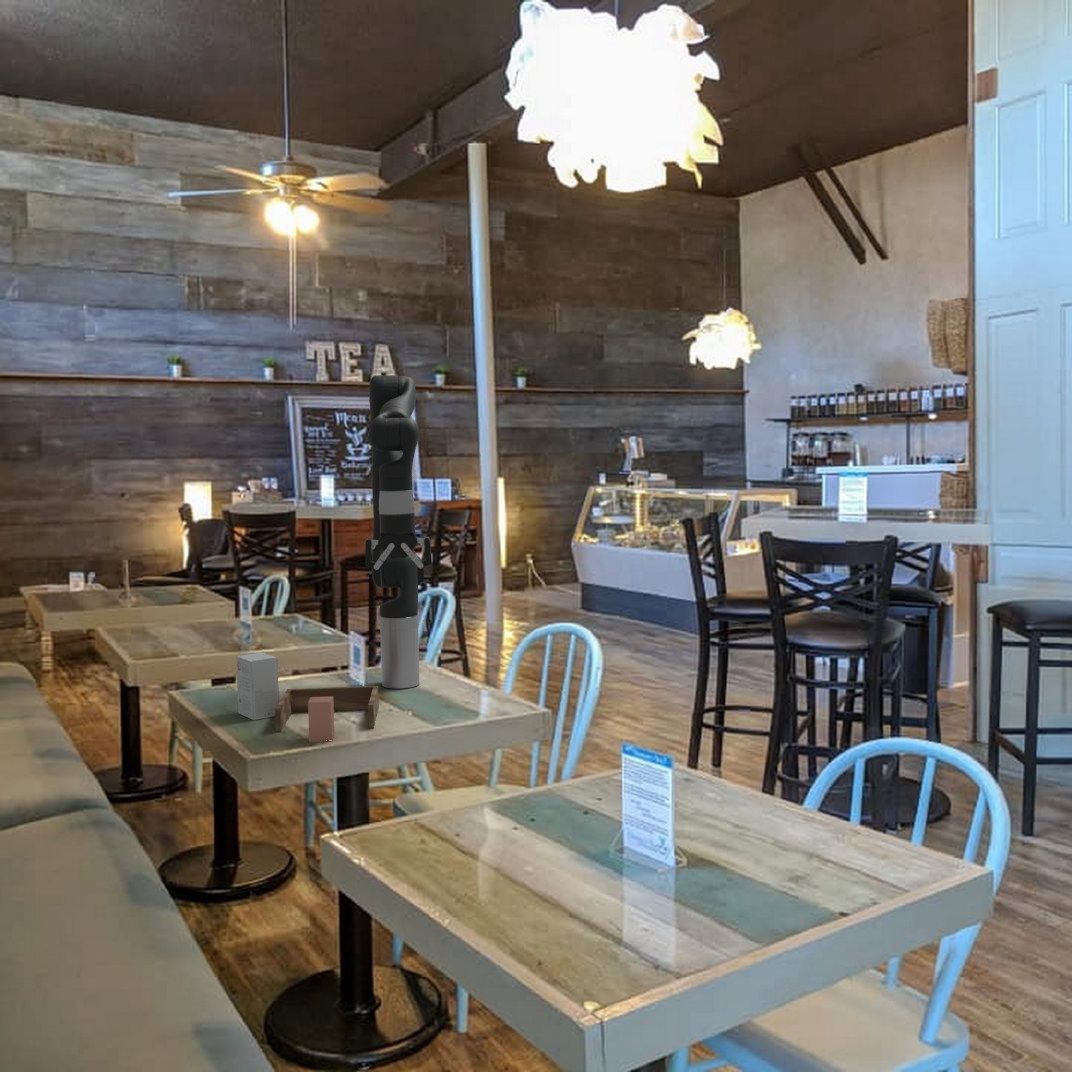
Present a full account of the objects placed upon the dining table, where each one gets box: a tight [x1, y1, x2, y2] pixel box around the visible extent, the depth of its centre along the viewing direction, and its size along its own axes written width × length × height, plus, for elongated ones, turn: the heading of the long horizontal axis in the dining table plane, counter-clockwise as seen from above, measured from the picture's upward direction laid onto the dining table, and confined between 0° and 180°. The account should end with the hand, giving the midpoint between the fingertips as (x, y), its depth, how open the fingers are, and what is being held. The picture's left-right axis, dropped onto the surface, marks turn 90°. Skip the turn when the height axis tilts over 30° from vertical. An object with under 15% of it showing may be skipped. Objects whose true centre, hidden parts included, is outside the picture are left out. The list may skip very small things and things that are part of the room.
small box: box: [235, 652, 280, 721], centre depth 227 cm, size 8×6×13 cm
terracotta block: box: [307, 696, 336, 743], centre depth 208 cm, size 4×4×8 cm
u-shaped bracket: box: [274, 685, 380, 733], centre depth 223 cm, size 17×20×5 cm
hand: (399, 585), depth 225 cm, fingers open, 8 cm apart
